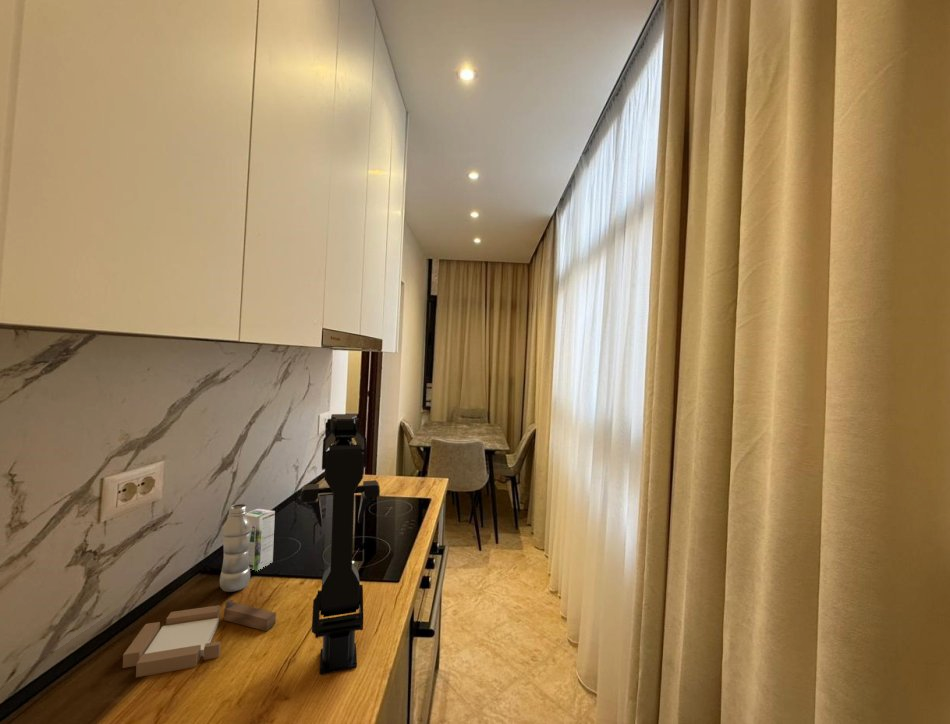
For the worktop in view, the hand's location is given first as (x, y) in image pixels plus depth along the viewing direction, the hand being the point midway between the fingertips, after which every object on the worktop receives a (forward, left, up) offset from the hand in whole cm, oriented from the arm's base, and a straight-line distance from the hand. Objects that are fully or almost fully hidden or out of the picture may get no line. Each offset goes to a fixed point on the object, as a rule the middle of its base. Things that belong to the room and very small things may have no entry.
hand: (340, 524), depth 103 cm
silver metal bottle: (+4, +24, -15) cm, 28 cm away
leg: (-12, +18, -15) cm, 26 cm away
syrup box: (+15, +21, -15) cm, 30 cm away
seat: (-15, +29, -15) cm, 36 cm away
